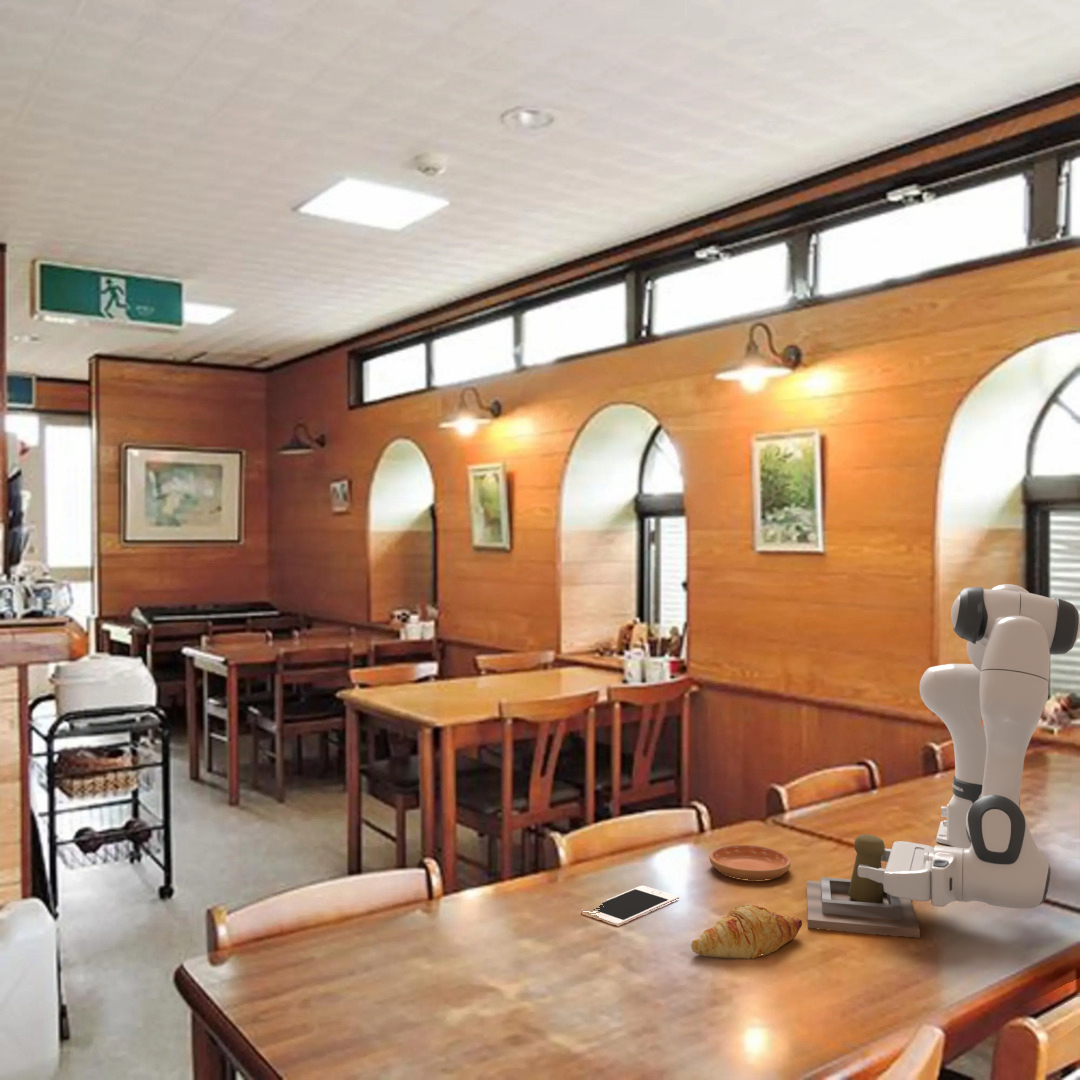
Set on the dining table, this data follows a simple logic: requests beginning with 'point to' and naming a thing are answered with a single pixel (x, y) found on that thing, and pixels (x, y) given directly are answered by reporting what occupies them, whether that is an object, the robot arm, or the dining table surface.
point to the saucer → (749, 862)
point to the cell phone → (632, 904)
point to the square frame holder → (858, 911)
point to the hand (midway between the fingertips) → (861, 862)
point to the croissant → (747, 933)
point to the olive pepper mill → (869, 854)
